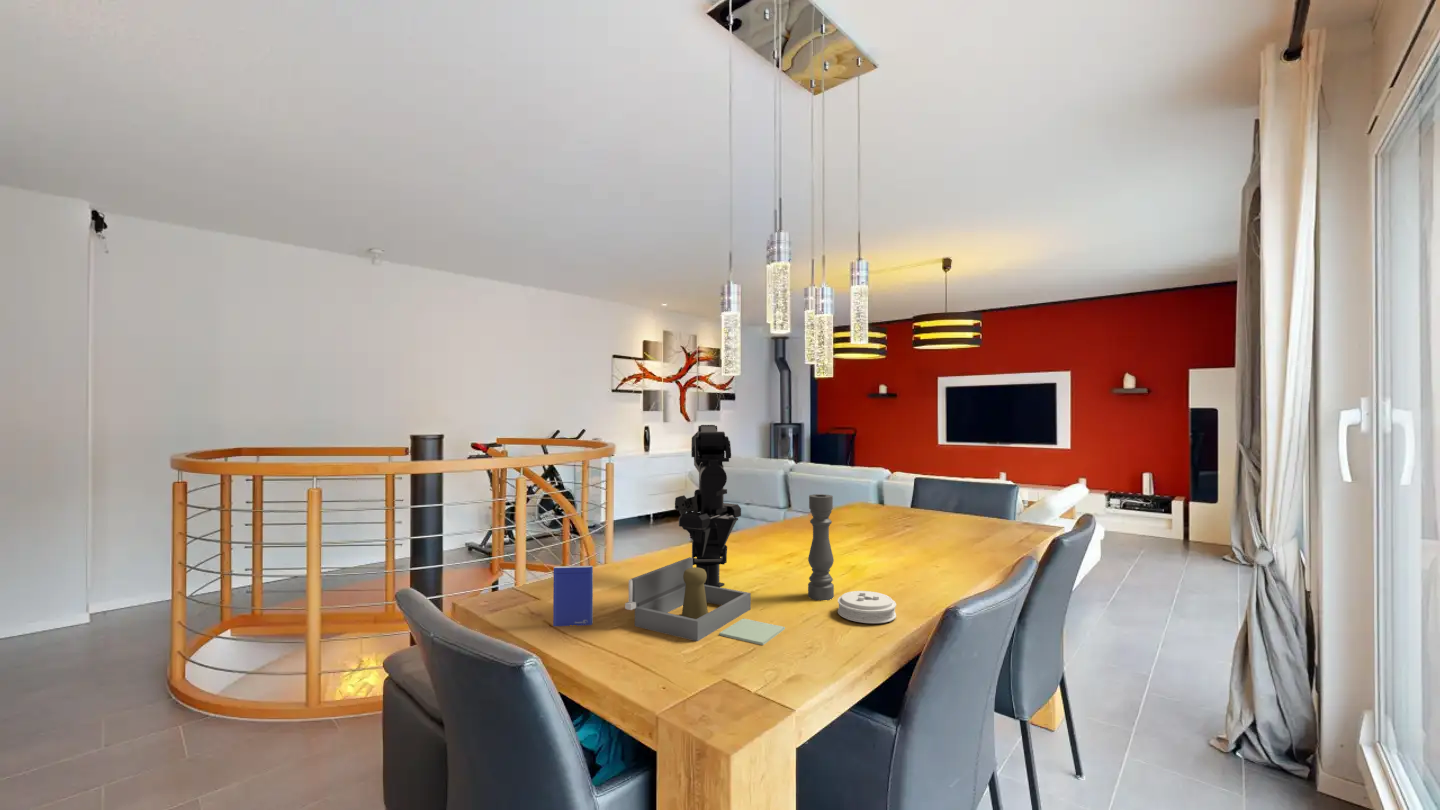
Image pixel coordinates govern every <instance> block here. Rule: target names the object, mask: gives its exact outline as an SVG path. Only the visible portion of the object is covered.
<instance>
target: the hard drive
mask: <svg viewBox="0 0 1440 810" xmlns="http://www.w3.org/2000/svg"><path fill="white" fill-rule="evenodd" d="M593 573H594V565H565V566H563V565H562V566H561V565H560V566H559V565H557V566H553V582H552V583H553V604H552V605H553V607H552V608H553V613H552V614H553V616H552V617H553V620H552V626H553V627H573V625H577V626H592V625H593V623H594V621H593V620H594V616H593V615H594V611H593V610H594V590H593V589H594V574H593ZM570 625H572V626H570Z"/></svg>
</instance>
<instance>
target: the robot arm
mask: <svg viewBox="0 0 1440 810" xmlns="http://www.w3.org/2000/svg"><path fill="white" fill-rule="evenodd" d="M697 427H698V429H697V431H696V433H694V434H693V435H692V436H691V451H690V452H691V458H693V466H694V467H695V469H696V470H697V472H698V488H697V489H695V490H694V491H693V493H694V494H693V496H692V497H691V496H689V497H686V496H685V495H679V496H677V497H675V499H674V509H675V510H676V511H677V512H679V514H680V516H679V517H678V527H681V528H682V530H684V531H686V532H687V533H689V535H690V537H691V539H692V541H691V558H693V566H695V567H698V568H702V569H704V570H705V571H706V574H707V579H706V582H705V583H704V585H709V586H715V587H720V588H723V587H724V586H725V582H720V565H722V566H723V565H725V564H726V563H727V561H728V560H727V559H728V557H727V556H728V546H727V545H726V544H727V541H728V539H729V537H730V535H731V533H732V530H733V528H734V527H735V525H736V523H737V522H738V521H739V517H741V516H742V508H741V506H740V505H739V504H737V503H727V502H724V500H725V499H724V495H726V494H728V489H726V488H725V485H726V484H727V480H728V477H727V473H726V471H725V469H724V467H725V466H724V464H723V463H725V462H726V463H727V462H730V459H731V458H732V448H731V447H732V446H731V440H730V439H729V437H728V436H727V435H726V434H725V431H718V426H717V425H715V424H701V425H698V426H697Z"/></svg>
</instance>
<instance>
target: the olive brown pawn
mask: <svg viewBox="0 0 1440 810" xmlns="http://www.w3.org/2000/svg"><path fill="white" fill-rule="evenodd" d="M683 579H684V582H685V583H686V586H685V594H684V602H683V605H682V609H681V610H682V611H681V616H684V617H688V618H693V619H698V618H699V617H701V616H703V615H705V614H707V613H709V612H708V605H707V602H706V594H705V586H704V583H705V582H706V579H707V574H706V571H705V570H704V569H702V568H698V567H696V566H695V567H694V566H693V568H688V569H686V570H685V571H684V575H683Z"/></svg>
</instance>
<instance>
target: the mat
mask: <svg viewBox="0 0 1440 810" xmlns="http://www.w3.org/2000/svg"><path fill="white" fill-rule="evenodd" d="M785 629H786V627H785V626H782V625H776V624H772V623H767V622H762V621H757V620H753V619H749V618H741V619H740V620H738V621H737V622H735V623H733V624H732V625H729V626H728V627H726V628H724V629H723V630H722V631H720V632H718V633H719V634H718V635H719V636H722V637H725V638H726V637H727V638H730V639H735V640H738V641H742V642H747V643H750V644H756V645H759V646H764V645H765V644H767V643H769V642H770V641H771V640H772V639H774V638H775V637H776V636H777V635H779V634H781V633H782V632H783V631H784V630H785Z"/></svg>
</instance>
